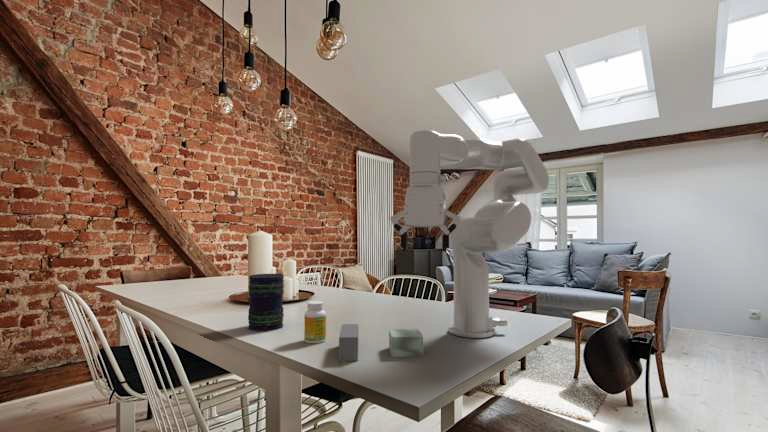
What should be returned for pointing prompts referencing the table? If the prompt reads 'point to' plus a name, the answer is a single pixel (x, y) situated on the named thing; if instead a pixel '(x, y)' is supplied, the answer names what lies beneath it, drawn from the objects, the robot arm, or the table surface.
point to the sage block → (405, 342)
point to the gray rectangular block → (348, 342)
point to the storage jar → (266, 302)
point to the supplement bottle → (315, 323)
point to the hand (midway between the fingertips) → (424, 251)
